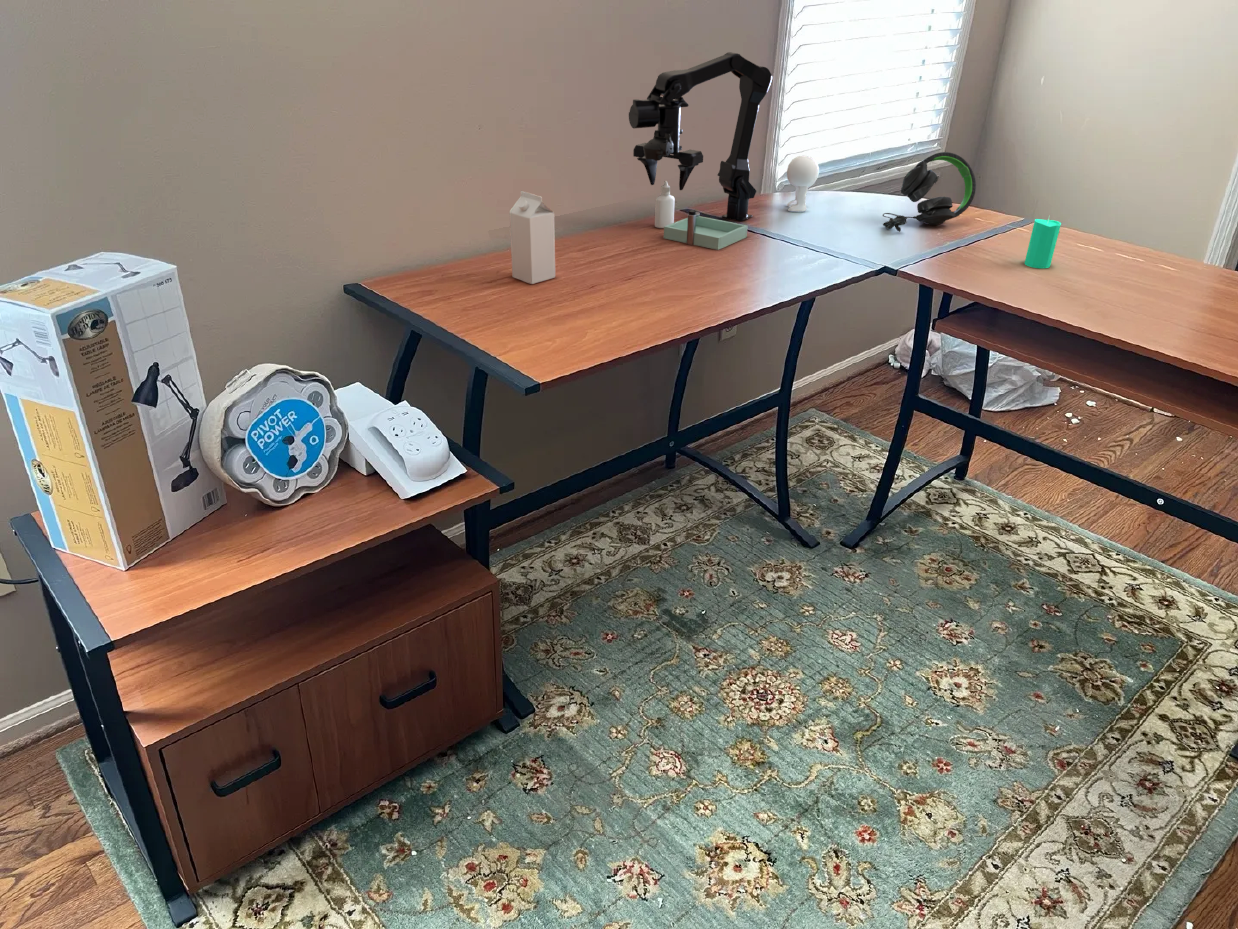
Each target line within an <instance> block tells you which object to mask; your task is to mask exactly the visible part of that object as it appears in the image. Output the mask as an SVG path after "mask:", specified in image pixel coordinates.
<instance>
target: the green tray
mask: <svg viewBox="0 0 1238 929" xmlns="http://www.w3.org/2000/svg"><path fill="white" fill-rule="evenodd" d="M687 222H688V217H685V218H682V219H680V220H678V221H674V223H672V224H669V225H667V226H664V228H663V239H665V240H670V241H675V242H679V243H684V244H686V242H687ZM748 228H749V227H748V225H747V224H742V223H736V222H731V221H727V220H721V219H717V218H713V217H705V216H702V215H700V216H699V217H697V218H696V232H695V233H694V245H693V246H698V247H702V248H706V249H711V250H715V251H716V250H717V251H719V250H722V249H723V248H726V247H728V246H730V245H732V244H734V243H737V242H739V241H742V240H744V239H746V238H748Z"/></svg>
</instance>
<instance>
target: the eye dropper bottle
mask: <svg viewBox="0 0 1238 929" xmlns="http://www.w3.org/2000/svg"><path fill="white" fill-rule="evenodd" d="M675 202H676V201H675V197H674V196H673V195H672V194H671V186H670V185H669V183H668V181H667V180H664V182H663V185H661V186H660V195H659V196H657V197H656V199H655V204H654V205H655V206H654V207H655V208H654V227H655V228H657V229H664V226H667V225H669V224H672V223H675V205H676V204H675Z"/></svg>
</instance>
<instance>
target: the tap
mask: <svg viewBox="0 0 1238 929" xmlns="http://www.w3.org/2000/svg"><path fill="white" fill-rule="evenodd" d="M699 216H701V212H700V211H697V210H694V209H689V210H688V213H687V218H688V222H687V242H686V243H685V244H686V245H687V246H695V245H694V233H695V232H696V218H697V217H699Z"/></svg>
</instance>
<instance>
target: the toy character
mask: <svg viewBox="0 0 1238 929" xmlns="http://www.w3.org/2000/svg"><path fill="white" fill-rule="evenodd" d="M819 174H820V167H819V164H818V162H817V160H816V159H815V158H813V157H812V156H809V155H798V156H795V157H794V158H793V159H791V161H790V162H789V164H788V165H787V169H786V179H787V181H788V183H789V184H790V185H792V186H793V187H794V188H795V190H794V199H793V200H790V201H789V202H787V204H786V207H787V208H788V209H787V211H788V212H793V213H794V212H797V213H798V212H799V213H800V212H801V213H802V212H807V204H806V198H807V193H808V189H809V188H810V187H812V186H813V185H814V184H815V183H816V181H817V180H818V177H819Z"/></svg>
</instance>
